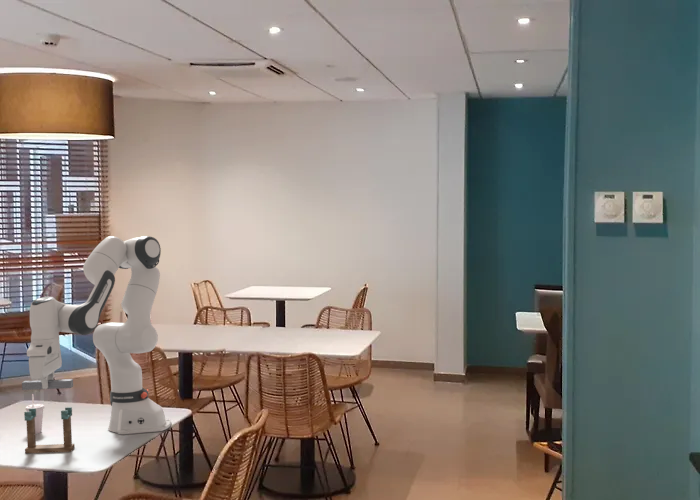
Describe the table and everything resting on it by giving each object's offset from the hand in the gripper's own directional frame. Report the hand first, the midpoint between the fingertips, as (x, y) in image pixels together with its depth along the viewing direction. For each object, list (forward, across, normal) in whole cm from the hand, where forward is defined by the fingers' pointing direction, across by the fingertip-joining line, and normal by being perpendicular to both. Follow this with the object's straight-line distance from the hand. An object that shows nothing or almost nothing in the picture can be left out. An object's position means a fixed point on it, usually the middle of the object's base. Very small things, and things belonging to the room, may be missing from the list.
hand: (47, 386), depth 254 cm
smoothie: (+22, -22, -13) cm, 34 cm away
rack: (+22, +1, 0) cm, 22 cm away
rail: (0, 0, 0) cm, 0 cm away
